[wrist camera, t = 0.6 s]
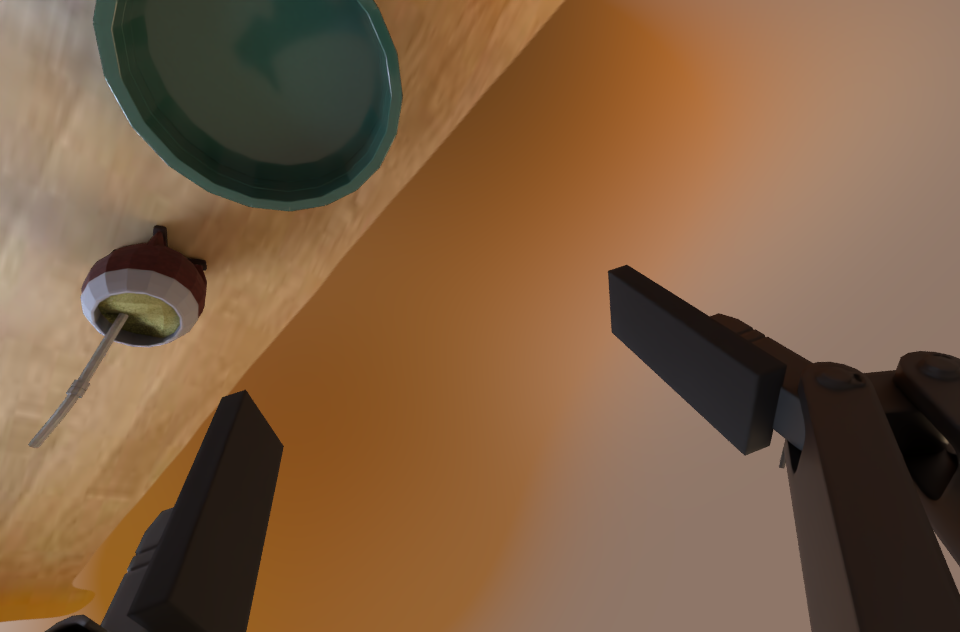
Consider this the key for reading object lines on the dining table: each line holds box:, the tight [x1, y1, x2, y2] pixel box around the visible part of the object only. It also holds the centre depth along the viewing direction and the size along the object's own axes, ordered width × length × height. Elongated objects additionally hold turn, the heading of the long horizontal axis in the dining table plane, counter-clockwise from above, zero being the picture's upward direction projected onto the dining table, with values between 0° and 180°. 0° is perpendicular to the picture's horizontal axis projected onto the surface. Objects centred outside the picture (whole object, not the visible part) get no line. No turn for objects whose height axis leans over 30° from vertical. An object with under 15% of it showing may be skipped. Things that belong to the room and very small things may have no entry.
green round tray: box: [93, 0, 403, 211], centre depth 28 cm, size 17×17×4 cm
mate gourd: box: [28, 226, 207, 448], centre depth 29 cm, size 8×8×15 cm
